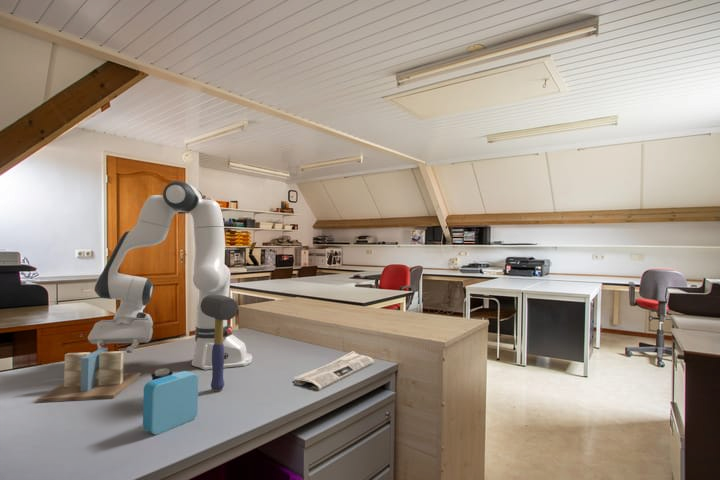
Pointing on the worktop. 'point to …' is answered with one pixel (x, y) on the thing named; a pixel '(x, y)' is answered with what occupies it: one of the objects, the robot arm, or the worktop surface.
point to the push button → (161, 373)
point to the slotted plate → (90, 369)
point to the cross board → (88, 394)
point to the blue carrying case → (170, 402)
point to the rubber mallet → (218, 332)
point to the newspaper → (335, 370)
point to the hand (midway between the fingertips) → (114, 352)
